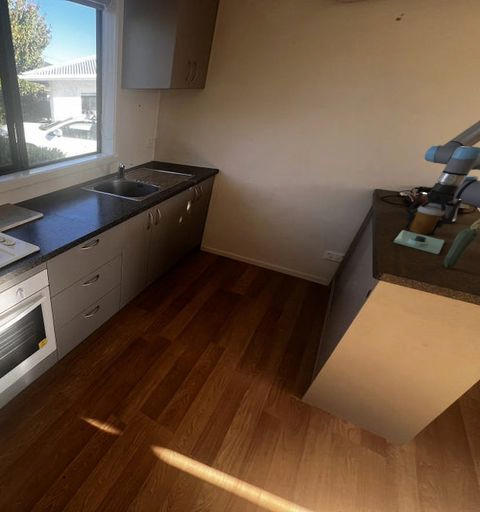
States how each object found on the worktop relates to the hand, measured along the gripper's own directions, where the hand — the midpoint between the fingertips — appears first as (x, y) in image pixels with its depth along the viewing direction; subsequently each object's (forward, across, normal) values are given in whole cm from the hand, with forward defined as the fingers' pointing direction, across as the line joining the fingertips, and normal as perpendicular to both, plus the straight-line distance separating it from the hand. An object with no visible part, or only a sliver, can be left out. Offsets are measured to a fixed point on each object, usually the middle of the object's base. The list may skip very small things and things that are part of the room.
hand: (419, 230), depth 139 cm
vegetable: (+1, +12, -39) cm, 41 cm away
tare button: (-2, +2, -23) cm, 24 cm away
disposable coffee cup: (+1, 0, 0) cm, 1 cm away
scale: (+1, +2, -17) cm, 17 cm away
